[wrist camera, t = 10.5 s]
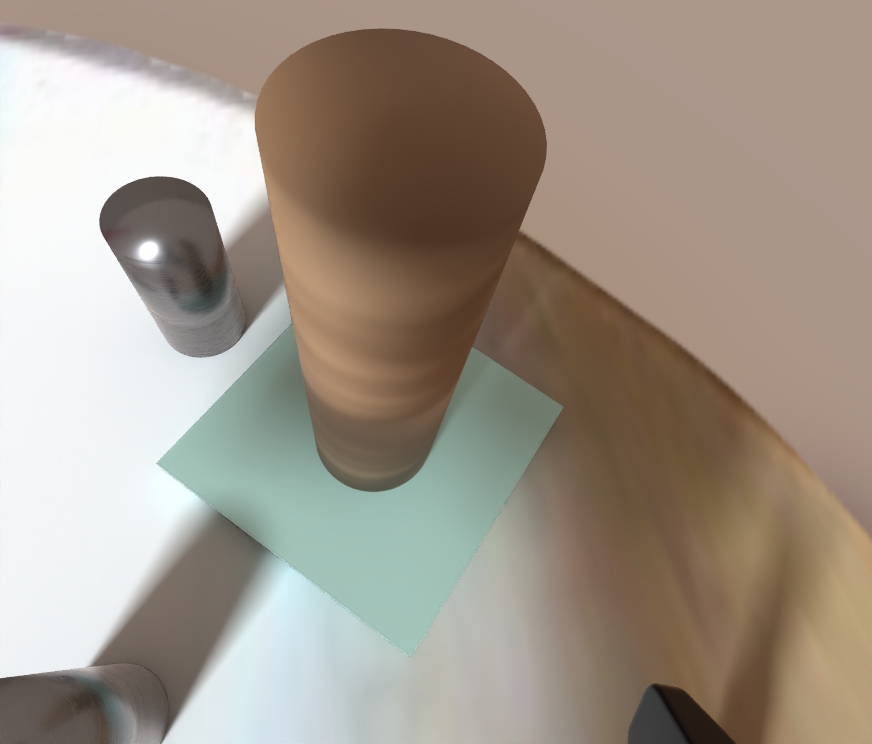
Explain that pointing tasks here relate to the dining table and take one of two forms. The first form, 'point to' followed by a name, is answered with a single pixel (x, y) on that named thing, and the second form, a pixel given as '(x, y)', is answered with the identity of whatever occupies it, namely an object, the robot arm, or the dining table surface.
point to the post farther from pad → (84, 707)
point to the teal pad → (359, 510)
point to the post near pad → (176, 262)
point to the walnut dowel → (391, 229)
